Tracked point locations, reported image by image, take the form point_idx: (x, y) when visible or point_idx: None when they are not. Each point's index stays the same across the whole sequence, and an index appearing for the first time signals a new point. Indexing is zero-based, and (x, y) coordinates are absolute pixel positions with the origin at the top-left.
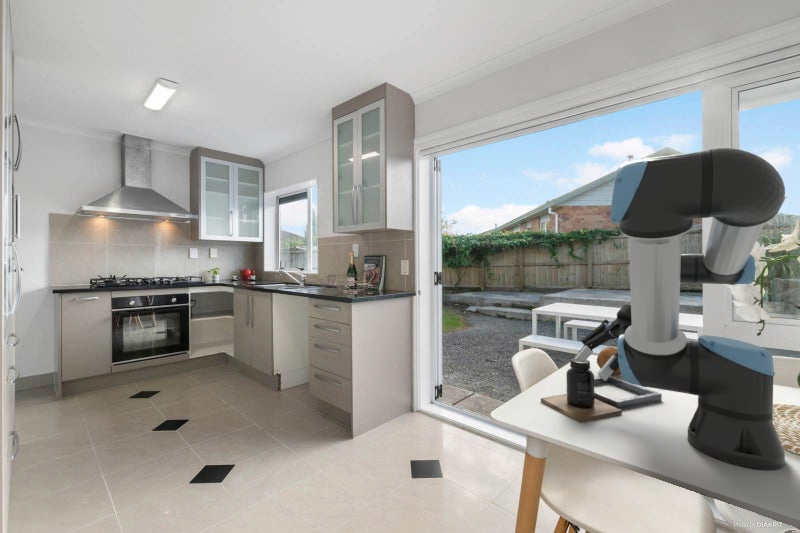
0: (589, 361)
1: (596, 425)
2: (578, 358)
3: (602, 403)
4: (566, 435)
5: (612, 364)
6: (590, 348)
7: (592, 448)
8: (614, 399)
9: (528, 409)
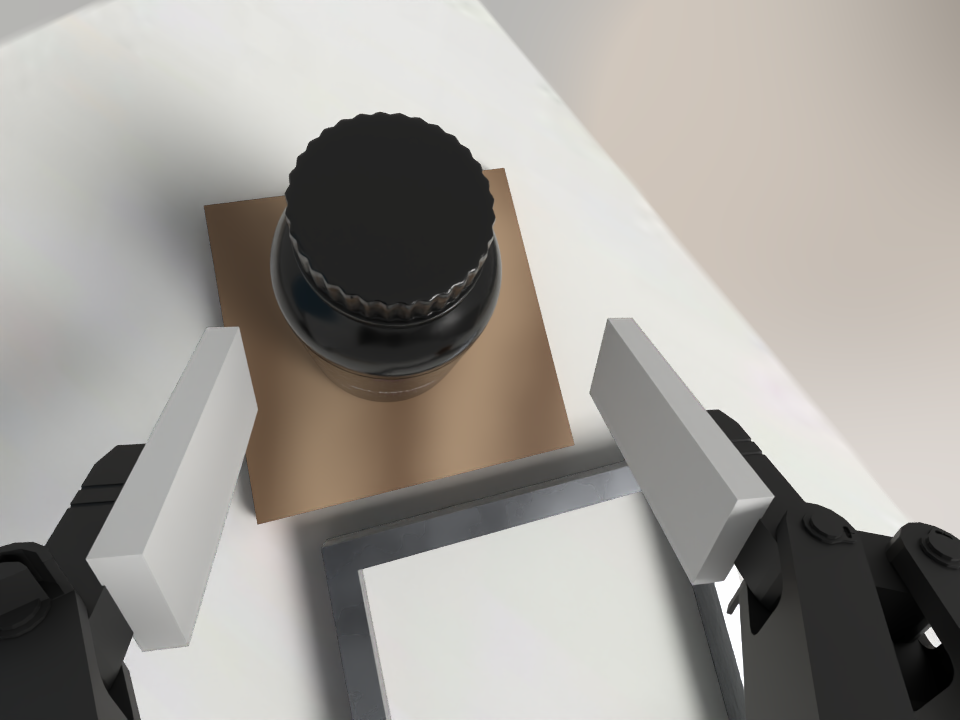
0: (341, 289)
1: (160, 274)
2: (630, 373)
3: (377, 472)
4: (96, 63)
5: (122, 476)
6: (747, 577)
7: None
8: (369, 562)
9: (414, 66)
